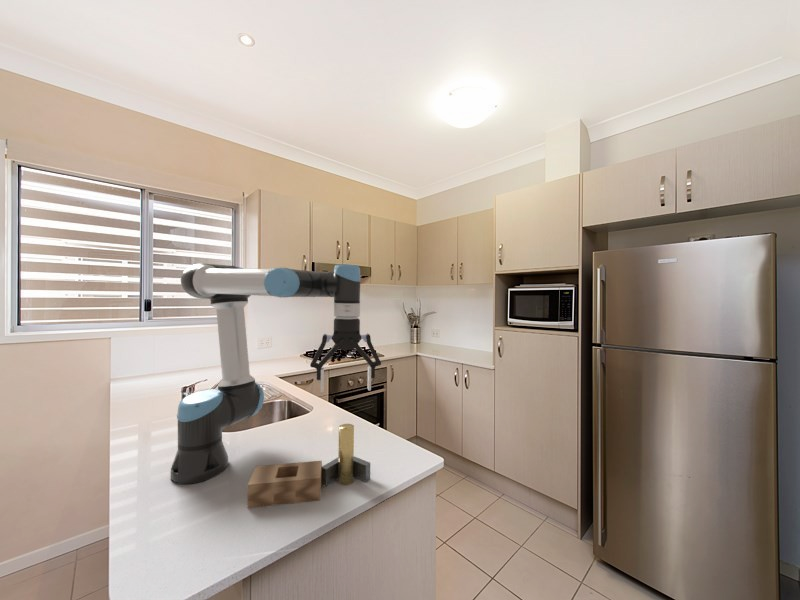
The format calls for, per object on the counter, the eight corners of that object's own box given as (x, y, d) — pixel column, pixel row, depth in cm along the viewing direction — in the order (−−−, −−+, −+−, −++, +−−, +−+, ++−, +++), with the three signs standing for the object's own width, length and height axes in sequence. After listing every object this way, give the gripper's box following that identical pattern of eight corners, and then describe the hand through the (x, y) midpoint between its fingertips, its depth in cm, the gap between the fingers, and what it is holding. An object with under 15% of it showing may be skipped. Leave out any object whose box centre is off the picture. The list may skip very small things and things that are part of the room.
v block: (320, 487, 91) (321, 469, 91) (321, 473, 98) (322, 457, 98) (370, 482, 94) (370, 465, 94) (368, 469, 101) (368, 453, 101)
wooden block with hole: (247, 508, 82) (247, 484, 82) (256, 487, 91) (256, 466, 91) (320, 500, 85) (320, 477, 85) (321, 480, 94) (321, 460, 94)
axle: (338, 485, 92) (338, 430, 91) (338, 477, 96) (338, 424, 96) (353, 484, 93) (354, 429, 92) (352, 475, 97) (353, 423, 97)
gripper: (301, 318, 88) (300, 396, 88) (391, 318, 92) (390, 392, 93) (303, 316, 95) (303, 388, 95) (387, 316, 100) (386, 384, 100)
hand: (345, 390), depth 94 cm, fingers open, 13 cm apart
